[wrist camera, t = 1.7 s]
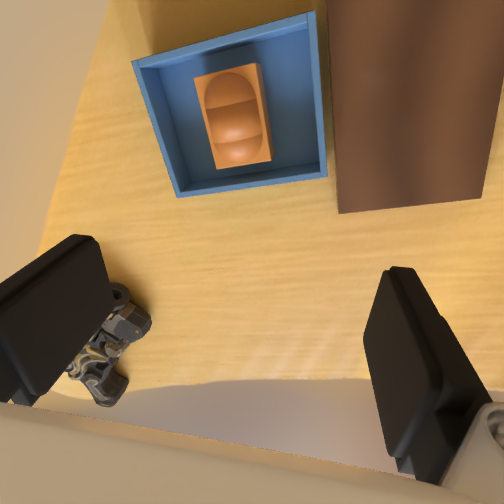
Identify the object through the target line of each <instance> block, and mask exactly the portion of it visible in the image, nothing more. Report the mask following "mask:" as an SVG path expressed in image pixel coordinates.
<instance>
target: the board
mask: <svg viewBox="0 0 504 504" xmlns="http://www.w3.org/2000/svg"><path fill="white" fill-rule="evenodd" d="M325 6H326V23H327V39H328V56H329V72H330V89H331V105H332V122H333V139H334V155H335V172H336V188H337V205H338V212H339V214H345V213H354V212H363V211H372V210H381V209H390V208H399V207H408V206H417V205H426V204H435V203H444V202H453V201H462V200H471V199H480V198H481V196H482V191H483V186H484V180H485V175H486V170H487V164H488V159H489V153H490V148H491V143H492V137H493V132H494V127H495V121H496V116H497V111H498V105H499V100H500V95H501V89H502V84H503V78H504V0H325Z"/></svg>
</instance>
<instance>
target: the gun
mask: <svg viewBox="0 0 504 504" xmlns="http://www.w3.org/2000/svg"><path fill="white" fill-rule="evenodd" d="M110 285H111V289H112V292H113V296H114V299H115V308H114V310H113V312H112V313H111V314H110V315H109V317H108V318H107V319H106V320H105V322H104V323H103V324H102V325H101V327H100V328H99V329H98V330H97V331H96V333H95V334H94V335H93V336H92V338H91V339H90V340H89V341H88V343H87V344H86V345H85V346H84V347H83V349H82V350H81V351H80V352H79V354H78V355H77V356H76V357H75V359H74V360H73V361H72V362H71V364H70V365H69V366H68V367H67V368H66V370H65V372H68V376H69V378H70V379H72V380H80V381H81V382H82V383H83V384H84V385H85V386H86V387H87V389H88V390H89V392H90V393H91V394H92V396H93V398H94V400H95V402H96V403H97V404H98V405H100V406H104V407H112V406H114V405H115V404H116V403H117V402H118V400H119V399H120V398H121V396H122V395H123V393H124V392H125V390H126V388H127V386H128V384H129V381H128V380H126V379H124V378H123V377H121V376H119V375H118V374H117V373H116V372H115V371H114V368H113V366H114V365H115V364H116V363H117V361H118V359H119V357H120V356H121V354H122V353H123V352H124V351H125V350H126V349H127V348H128V346H129V345H130V343H132V342H134V341H136V340H138V339H140V338H142V337H143V336H144V335H145V334H146V333H147V332H148V331H149V330H150V328H151V325H152V321H151V317H150V315H149V314H148V313H146V312H145V311H143V310H141V309H140V308H138V307H136V306H135V305H133V304H132V303H130V302H128V301H129V300H130V293H129V291H128V289H127V288H126V287H125V286H124V285H121V284H119V283H115V282H110Z"/></svg>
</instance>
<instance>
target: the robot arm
mask: <svg viewBox="0 0 504 504" xmlns="http://www.w3.org/2000/svg"><path fill="white" fill-rule="evenodd" d="M114 308H115V299H114V296H113V292H112V289H111V285H110V281H109V278H108V274H107V271H106V267H105V264H104V260H103V257H102V253H101V249H100V246H99V243H98V242H97V241H95V239H94V238H93V237H92V236H88V235H78V234H73V235H70V236H69V237H67V238H66V239H64V240H63V241H61V242H60V243H59V244H57V245H56V246H54V247H53V248H51V249H50V250H48V251H47V252H45V253H44V254H42V255H41V256H40V257H38V258H37V259H35V260H34V261H33V262H31V263H29V264H28V265H26V266H25V267H24V268H22V269H21V270H19V271H18V272H16V273H15V274H13V275H12V276H11V277H9V278H8V279H6V280H5V281H3V282H2V283H0V504H504V402H493V401H492V399H491V397H490V396H489V394H488V392H487V390H486V389H485V387H484V385H483V383H482V382H481V380H480V378H479V376H478V375H477V373H476V371H475V370H474V368H473V366H472V364H471V363H470V361H469V359H468V357H467V356H466V354H465V352H464V351H463V349H462V347H461V345H460V344H459V342H458V340H457V338H456V337H455V335H454V333H453V332H452V330H451V328H450V326H449V325H448V323H447V321H446V320H445V319H444V317H443V316H441V315H440V314H439V312H438V310H437V308H436V307H435V305H434V303H433V301H432V300H431V298H430V296H429V294H428V293H427V291H426V289H425V287H424V286H423V284H422V282H421V280H420V278H419V277H418V275H417V273H416V271H415V270H414V269H413V268H406V267H396V266H392V267H391V268H390V270H385V271H384V272H383V274H382V277H381V280H380V283H379V286H378V289H377V293H376V296H375V299H374V302H373V306H372V309H371V312H370V315H369V318H368V322H367V325H366V328H365V331H364V336H363V344H364V349H365V353H366V358H367V362H368V367H369V371H370V376H371V380H372V385H373V389H374V394H375V399H376V403H377V408H378V412H379V417H380V421H381V426H382V430H383V435H384V439H385V444H386V448H387V452H388V454H389V455H390V456H391V457H395V459H396V463H397V468H398V472H401V473H407V474H412V475H415V478H416V480H414V479H410V478H406V477H402V476H398V475H394V474H390V473H386V472H381V471H375V470H371V469H366V468H361V467H356V466H351V465H346V464H341V463H336V462H331V461H326V460H321V459H316V458H311V457H306V456H301V455H295V454H290V453H284V452H279V451H273V450H268V449H262V448H257V447H252V446H246V445H241V444H235V443H230V442H224V441H219V440H213V439H208V438H202V437H197V436H191V435H186V434H180V433H175V432H169V431H163V430H158V429H152V428H147V427H141V426H135V425H130V424H124V423H118V422H113V421H107V420H101V419H96V418H90V417H85V416H79V415H73V414H67V413H62V412H56V411H50V410H44V409H38V408H33V407H32V406H33V404H34V403H35V402H36V401H37V400H38V398H39V397H40V396H42V395H44V394H46V393H47V392H48V391H49V389H50V388H51V387H52V386H53V385H54V383H55V382H56V381H57V380H58V378H59V377H60V376H61V375H62V373H63V372H64V371H65V370H66V368H67V367H68V366H69V365H70V364H71V362H72V361H73V360H74V359H75V357H76V356H77V355H78V354H79V352H80V351H81V350H82V349H83V347H84V346H85V345H86V344H87V343H88V341H89V340H90V339H91V338H92V336H93V335H94V334H95V333H96V331H97V330H98V329H99V328H100V327H101V325H102V324H103V323H104V322H105V320H106V319H107V318H108V317H109V315H110V314H111V313H112V312H113V310H114ZM10 399H12V401H13V402H14V404H8V403H7V402H8V401H9V400H10ZM15 404H18V405H15ZM21 405H24V406H21ZM27 406H29V407H27Z"/></svg>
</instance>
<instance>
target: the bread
mask: <svg viewBox="0 0 504 504" xmlns="http://www.w3.org/2000/svg"><path fill="white" fill-rule="evenodd" d="M194 82H195V86H196V90H197V94H198V98H199V102H200V106H201V110H202V114H203V118H204V121H205V125H206V129H207V133H208V137H209V141H210V145H211V149H212V153H213V157H214V161H215V165H216V169H222V168H228V167H235V166H241V165H247V164H253V163H259V162H265V161H271V160H272V157H273V155H274V153H275V151H274V145H273V138H272V132H271V125H270V119H269V112H268V106H267V100H266V93H265V87H264V80H263V74H262V67H261V64H259V63H251V64H247V65H243V66H239V67H234V68H230V69H226V70H222V71H218V72H214V73H210V74H206V75H202V76H198V77H194Z"/></svg>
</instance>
